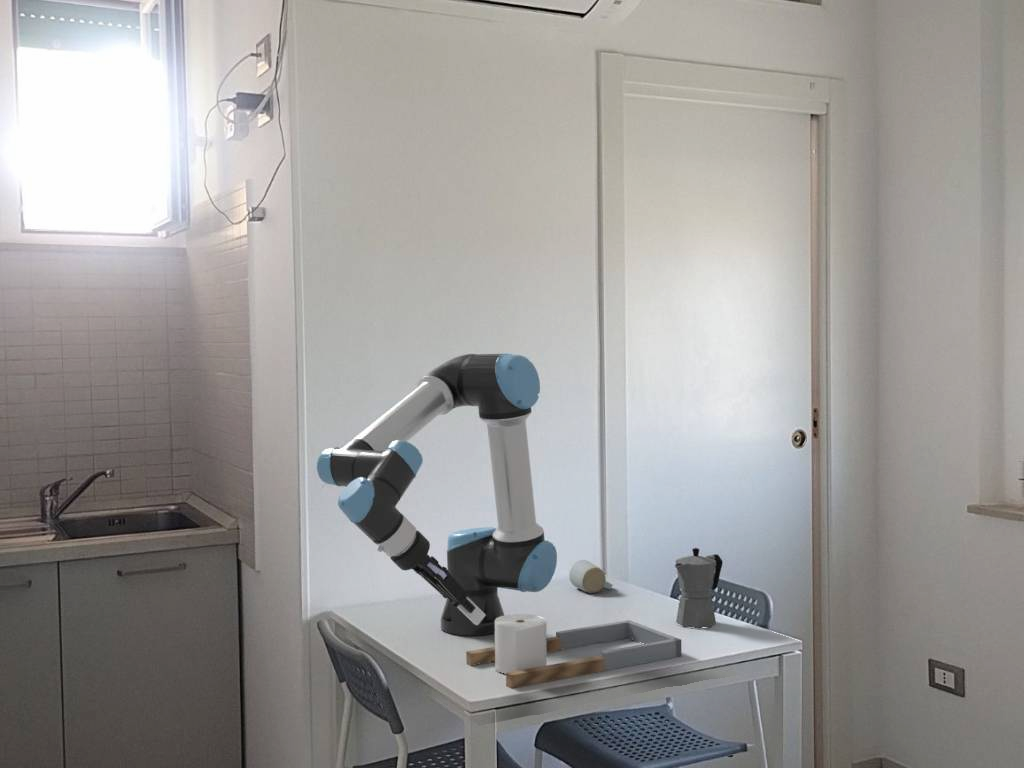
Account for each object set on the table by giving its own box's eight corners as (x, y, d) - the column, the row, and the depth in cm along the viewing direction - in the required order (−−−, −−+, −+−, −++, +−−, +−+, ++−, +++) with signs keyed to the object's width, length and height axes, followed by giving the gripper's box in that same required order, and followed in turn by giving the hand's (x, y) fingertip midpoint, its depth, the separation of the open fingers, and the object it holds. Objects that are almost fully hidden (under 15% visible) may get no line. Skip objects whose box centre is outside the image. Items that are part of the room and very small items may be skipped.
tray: (605, 670, 225) (605, 653, 225) (556, 647, 242) (555, 632, 242) (681, 656, 235) (681, 639, 235) (629, 635, 252) (629, 620, 251)
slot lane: (511, 688, 215) (511, 675, 214) (466, 663, 231) (466, 651, 231) (605, 670, 225) (605, 658, 225) (556, 647, 242) (556, 636, 242)
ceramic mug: (583, 595, 290) (583, 566, 290) (568, 589, 298) (569, 560, 297) (618, 592, 295) (618, 563, 294) (603, 585, 302) (603, 557, 302)
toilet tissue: (530, 658, 235) (530, 611, 234) (559, 673, 224) (559, 624, 224) (485, 665, 230) (485, 617, 229) (513, 681, 219) (512, 631, 219)
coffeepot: (691, 632, 253) (690, 554, 252) (661, 624, 261) (661, 548, 260) (736, 621, 263) (736, 546, 262) (706, 613, 270) (706, 540, 269)
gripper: (377, 553, 217) (453, 627, 226) (404, 564, 206) (483, 641, 214) (401, 523, 219) (476, 598, 228) (430, 533, 208) (507, 611, 217)
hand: (479, 619), depth 221 cm, fingers closed
